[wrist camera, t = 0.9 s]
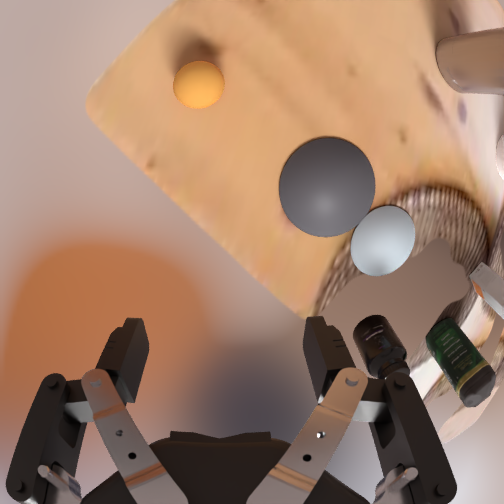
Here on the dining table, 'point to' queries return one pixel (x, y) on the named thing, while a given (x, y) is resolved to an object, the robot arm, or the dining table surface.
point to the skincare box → (489, 287)
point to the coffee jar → (461, 362)
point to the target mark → (327, 187)
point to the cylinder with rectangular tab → (500, 157)
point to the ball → (198, 84)
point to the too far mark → (382, 241)
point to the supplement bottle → (380, 347)
